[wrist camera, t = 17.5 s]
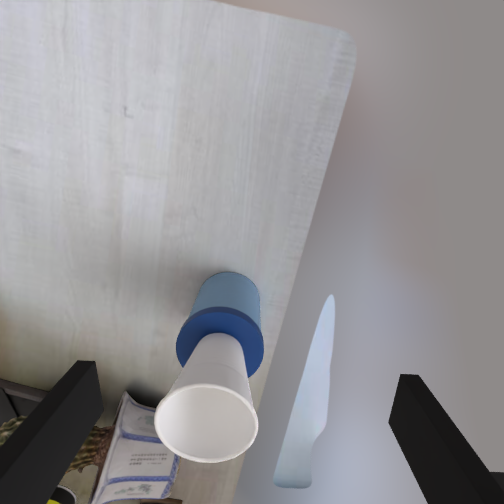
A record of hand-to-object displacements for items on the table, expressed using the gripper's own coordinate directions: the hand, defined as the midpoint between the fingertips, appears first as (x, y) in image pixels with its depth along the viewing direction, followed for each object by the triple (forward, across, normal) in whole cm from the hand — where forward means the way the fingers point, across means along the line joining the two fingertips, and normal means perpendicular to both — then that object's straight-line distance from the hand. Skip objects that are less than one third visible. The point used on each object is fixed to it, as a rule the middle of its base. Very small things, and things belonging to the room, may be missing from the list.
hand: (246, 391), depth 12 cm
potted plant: (+35, -27, -39) cm, 59 cm away
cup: (+21, -4, -15) cm, 26 cm away
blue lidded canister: (+35, -4, -15) cm, 38 cm away
